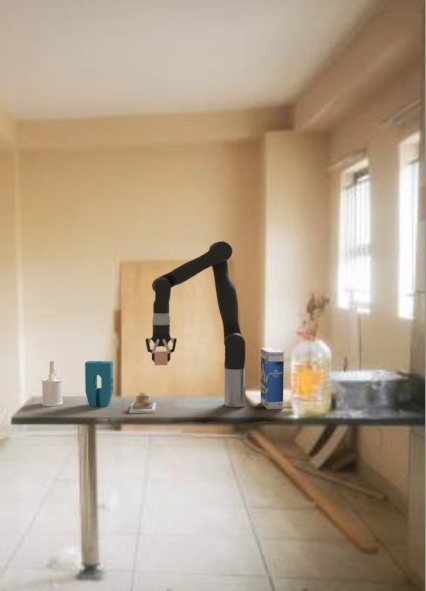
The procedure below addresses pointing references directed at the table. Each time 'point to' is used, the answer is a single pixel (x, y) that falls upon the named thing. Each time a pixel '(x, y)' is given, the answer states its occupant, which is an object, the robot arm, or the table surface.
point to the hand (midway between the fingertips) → (161, 361)
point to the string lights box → (272, 378)
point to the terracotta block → (161, 357)
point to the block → (106, 373)
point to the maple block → (143, 399)
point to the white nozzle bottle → (52, 388)
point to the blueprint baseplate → (142, 408)
